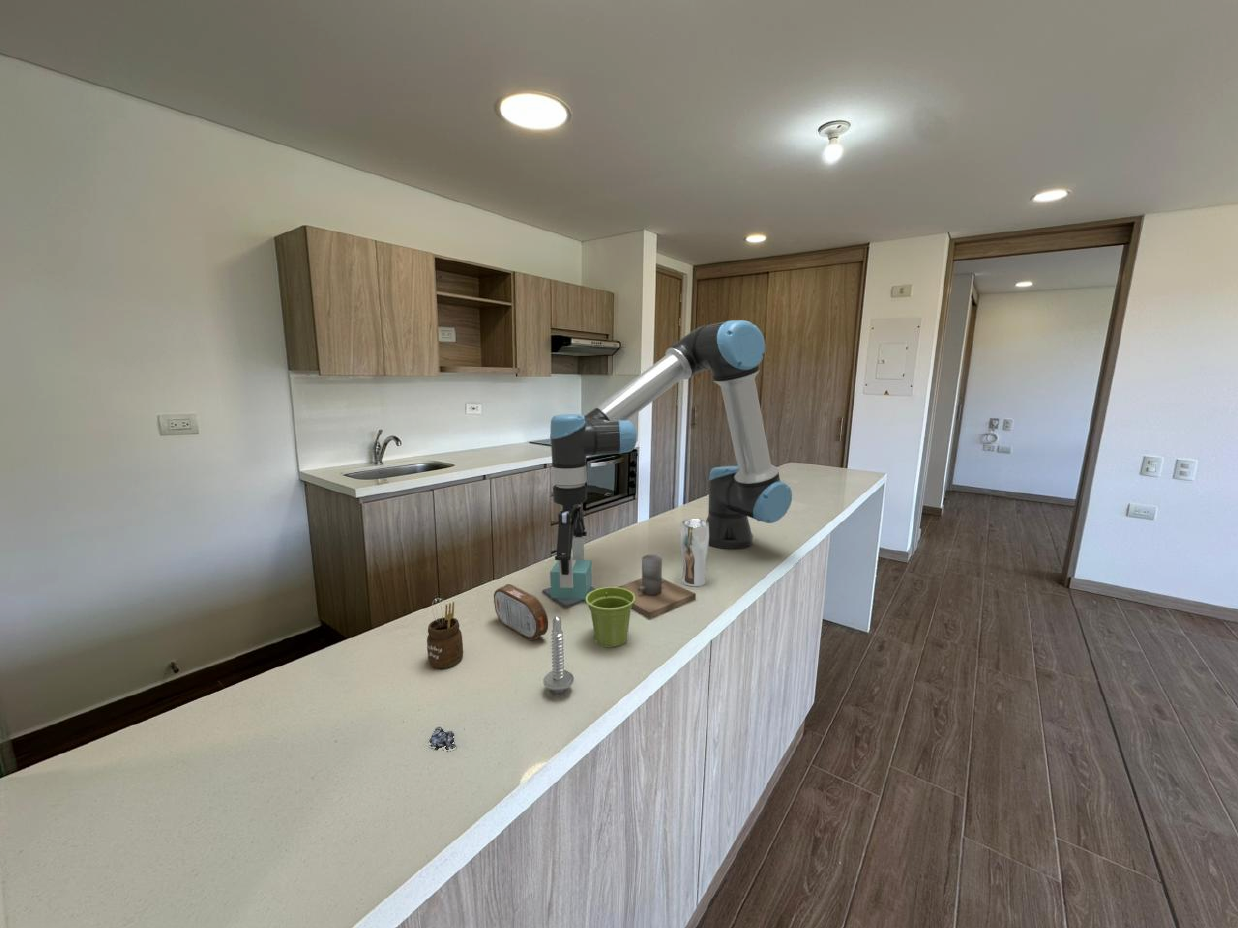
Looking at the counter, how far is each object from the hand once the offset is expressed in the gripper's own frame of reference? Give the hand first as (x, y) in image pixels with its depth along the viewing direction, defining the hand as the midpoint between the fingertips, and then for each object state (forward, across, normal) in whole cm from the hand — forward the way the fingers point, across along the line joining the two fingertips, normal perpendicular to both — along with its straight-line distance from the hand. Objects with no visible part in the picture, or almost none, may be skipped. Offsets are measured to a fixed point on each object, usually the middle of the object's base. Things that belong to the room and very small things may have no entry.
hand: (573, 574), depth 112 cm
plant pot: (+5, +19, +11) cm, 22 cm away
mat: (+5, 0, 0) cm, 5 cm away
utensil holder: (+5, +28, -17) cm, 34 cm away
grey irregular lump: (+5, +47, -8) cm, 48 cm away
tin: (+5, +17, -7) cm, 19 cm away
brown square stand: (+5, 0, +18) cm, 19 cm away
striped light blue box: (+4, 0, 0) cm, 4 cm away
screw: (+5, +35, +5) cm, 35 cm away
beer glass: (+5, -10, +28) cm, 30 cm away
